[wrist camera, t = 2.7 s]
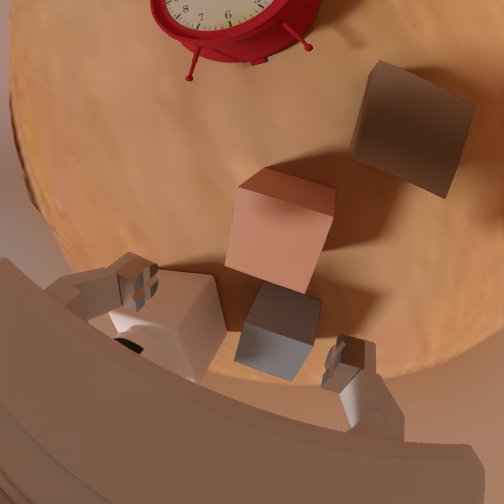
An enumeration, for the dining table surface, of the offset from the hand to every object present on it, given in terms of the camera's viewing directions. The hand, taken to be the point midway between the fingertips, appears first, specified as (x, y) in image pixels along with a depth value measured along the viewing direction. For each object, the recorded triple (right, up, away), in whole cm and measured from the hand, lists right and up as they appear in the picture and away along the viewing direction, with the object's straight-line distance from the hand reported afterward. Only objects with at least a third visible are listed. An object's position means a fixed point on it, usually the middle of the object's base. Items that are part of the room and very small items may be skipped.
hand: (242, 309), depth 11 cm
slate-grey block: (+3, -3, +12) cm, 13 cm away
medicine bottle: (-6, -2, +16) cm, 17 cm away
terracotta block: (+3, +5, +8) cm, 10 cm away
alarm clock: (-1, +21, 0) cm, 21 cm away
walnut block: (+9, +10, +3) cm, 14 cm away
